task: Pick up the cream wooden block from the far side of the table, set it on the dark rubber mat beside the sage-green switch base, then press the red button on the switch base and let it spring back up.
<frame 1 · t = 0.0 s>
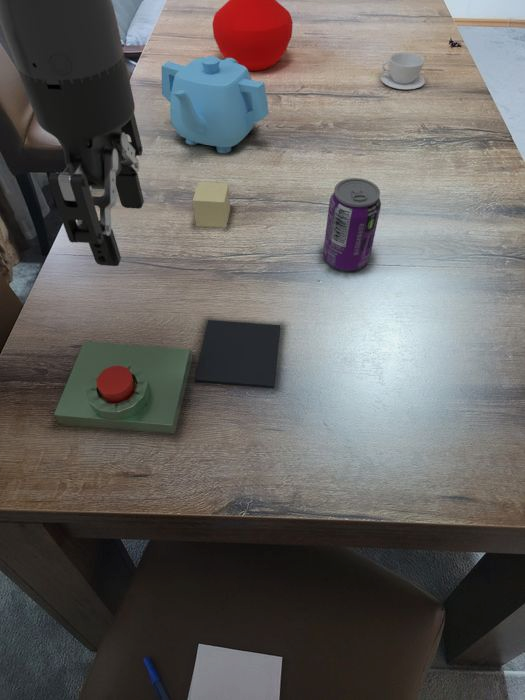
hand: (122, 233, 48), 21 cm above the table, tool pointing down, fingers open, 8 cm apart
beverage can: (345, 259, 76), on the table
switch: (116, 383, 56), point 4 cm above the table, slide at 0.1 cm
vase: (253, 63, 119), on the table
block: (213, 217, 82), on the table
teapot: (213, 141, 97), on the table
teacup: (401, 82, 112), on the table
mat: (239, 353, 65), on the table
switch base: (129, 390, 61), on the table
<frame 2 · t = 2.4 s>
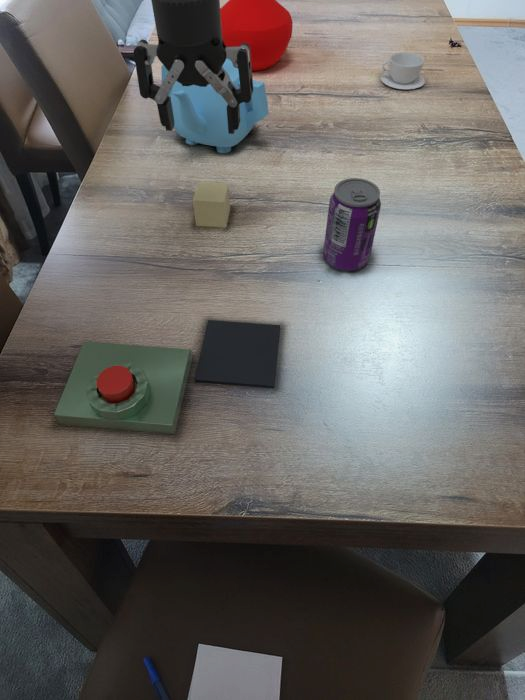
hand: (201, 129, 66), 17 cm above the table, tool pointing down, fingers open, 8 cm apart
nothing on the table moved.
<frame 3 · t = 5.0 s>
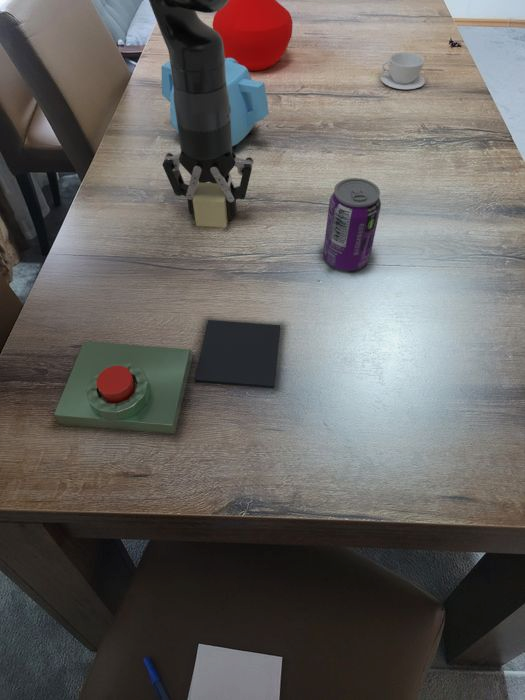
hand: (213, 215, 82), 0 cm above the table, tool pointing down, fingers closed on block, 5 cm apart
block: (213, 217, 82), on the table, touching gripper
everything else where it was.
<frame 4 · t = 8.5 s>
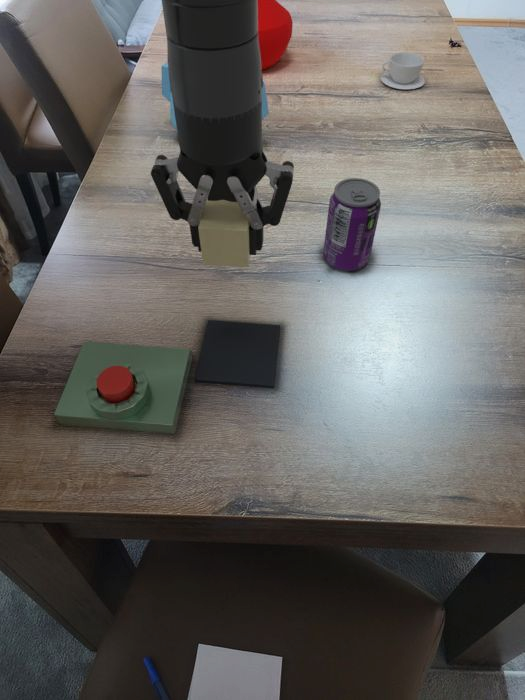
hand: (228, 248, 55), 15 cm above the table, tool pointing down, fingers closed on block, 5 cm apart
block: (228, 250, 55), point 15 cm above the table, touching gripper
everything else where it was.
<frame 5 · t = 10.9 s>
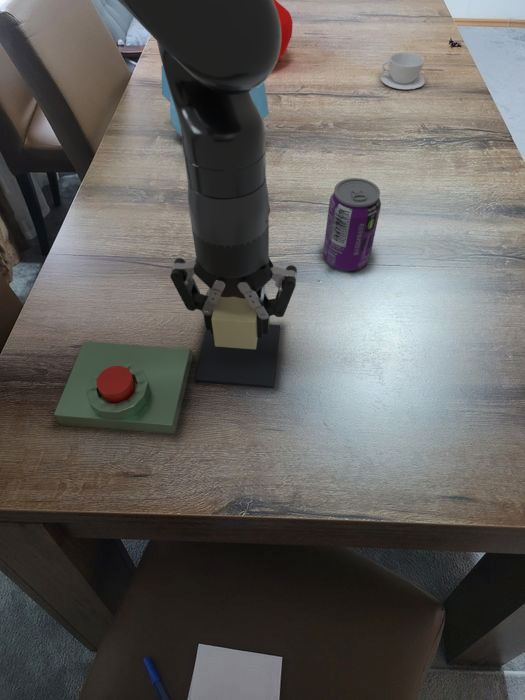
hand: (238, 330, 61), 5 cm above the table, tool pointing down, fingers closed on block, 5 cm apart
block: (238, 332, 61), point 5 cm above the table, touching gripper
everything else where it was.
when the fingers open (1 cm above the table, at t = 12.5 s): block stays where it is, resting on mat.
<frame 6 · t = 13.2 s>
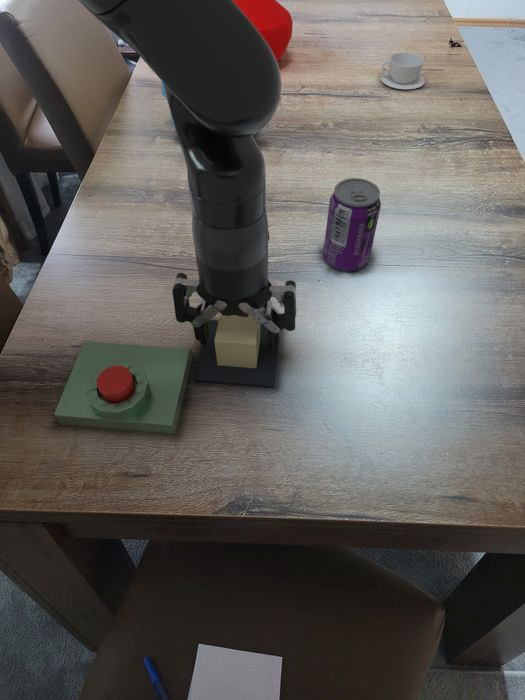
hand: (238, 342, 63), 2 cm above the table, tool pointing down, fingers open, 8 cm apart
block: (239, 351, 64), point 1 cm above the table, touching mat
everything else where it was.
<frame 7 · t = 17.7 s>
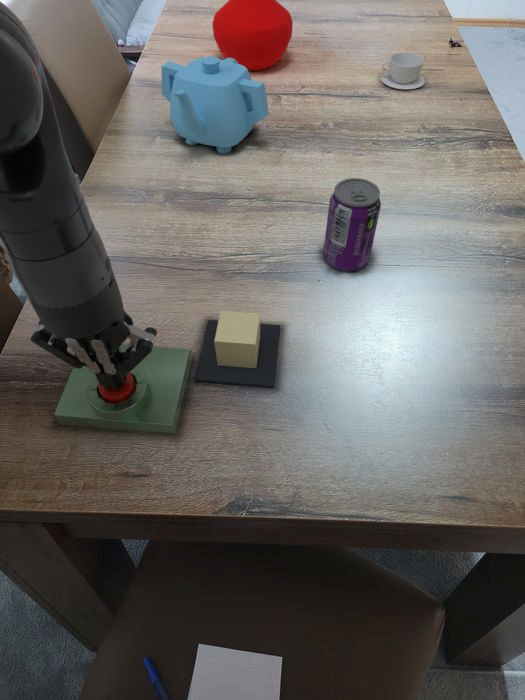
hand: (116, 384, 56), 5 cm above the table, tool pointing down, fingers closed
switch: (117, 387, 57), point 4 cm above the table, slide at -0.6 cm, touching gripper
everything else where it was.
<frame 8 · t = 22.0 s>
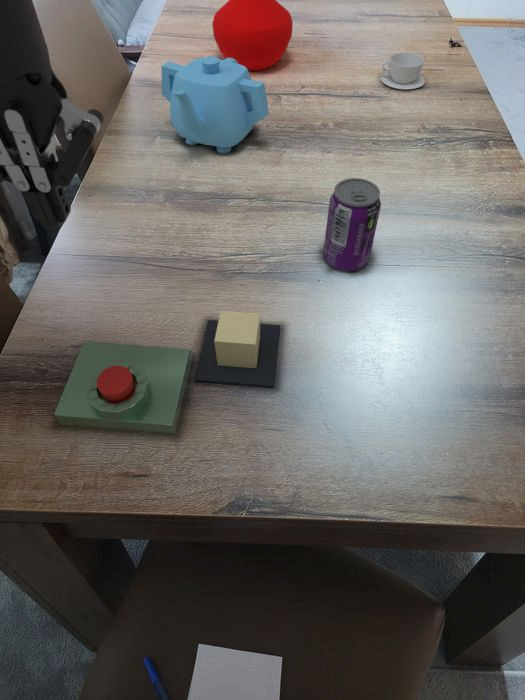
hand: (56, 221, 42), 25 cm above the table, tool pointing down, fingers closed
switch: (116, 383, 56), point 4 cm above the table, slide at 0.1 cm
everything else where it was.
at the end: block inside the target area on the mat (0.1 cm from its centre), point 0.6 cm above the mat's base; switch pushed in 1.1 cm at the most during the clip, back to where it started at the end; switch slide at 0.1 cm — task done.
